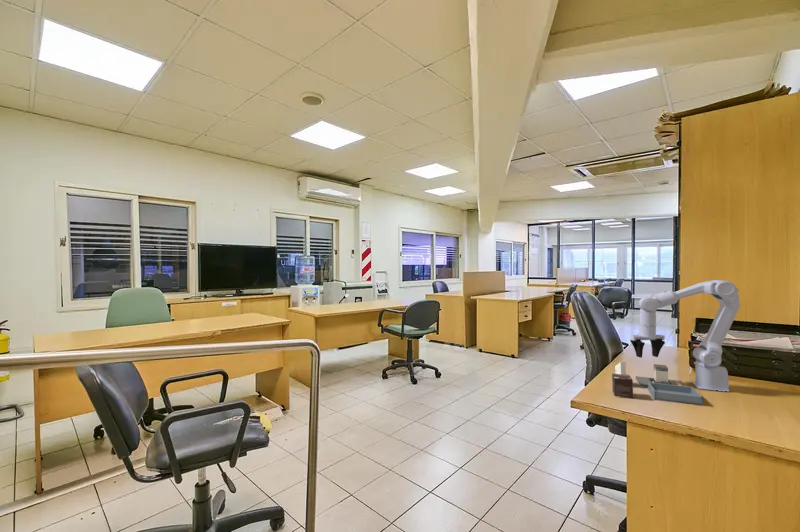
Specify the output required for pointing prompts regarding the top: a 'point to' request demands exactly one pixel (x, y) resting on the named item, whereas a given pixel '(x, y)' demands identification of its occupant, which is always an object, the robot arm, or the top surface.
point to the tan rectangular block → (660, 373)
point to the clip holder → (644, 381)
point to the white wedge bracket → (620, 368)
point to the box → (622, 385)
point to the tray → (675, 393)
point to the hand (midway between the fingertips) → (647, 356)
